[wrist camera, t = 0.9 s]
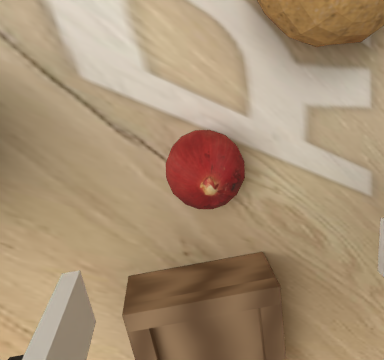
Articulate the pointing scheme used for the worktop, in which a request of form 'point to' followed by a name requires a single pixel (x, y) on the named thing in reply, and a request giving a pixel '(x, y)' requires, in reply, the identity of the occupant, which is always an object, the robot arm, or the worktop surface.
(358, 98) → the worktop surface
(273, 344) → the walnut tray
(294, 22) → the potato
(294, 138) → the worktop surface
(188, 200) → the pomegranate
